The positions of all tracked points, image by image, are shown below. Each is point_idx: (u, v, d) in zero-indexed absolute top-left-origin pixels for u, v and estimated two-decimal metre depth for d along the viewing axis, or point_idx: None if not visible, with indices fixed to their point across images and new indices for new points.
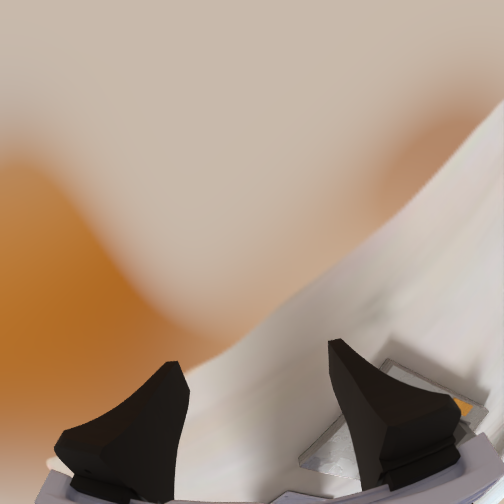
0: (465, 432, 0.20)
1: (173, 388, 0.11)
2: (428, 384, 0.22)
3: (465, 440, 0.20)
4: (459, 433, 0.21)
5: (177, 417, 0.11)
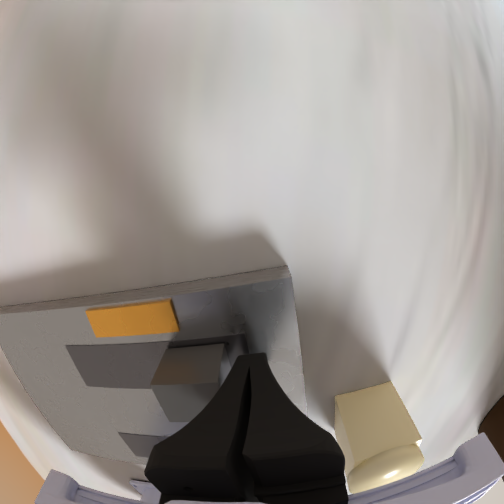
0: (153, 381, 0.11)
1: None
2: (25, 314, 0.13)
3: (179, 400, 0.11)
4: None
5: None
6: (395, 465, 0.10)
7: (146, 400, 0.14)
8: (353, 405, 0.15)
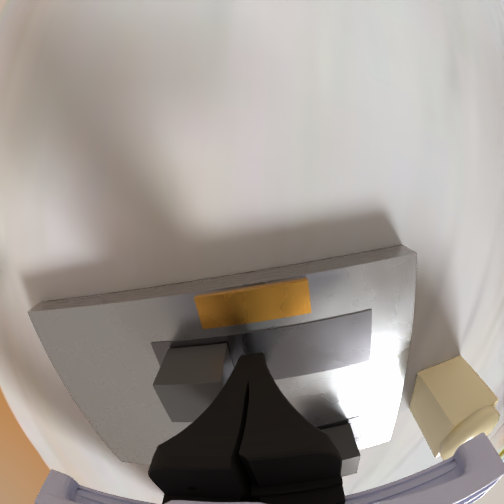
0: (156, 381, 0.11)
1: None
2: (93, 308, 0.13)
3: (182, 400, 0.11)
4: None
5: None
6: (482, 424, 0.10)
7: None
8: (436, 378, 0.14)
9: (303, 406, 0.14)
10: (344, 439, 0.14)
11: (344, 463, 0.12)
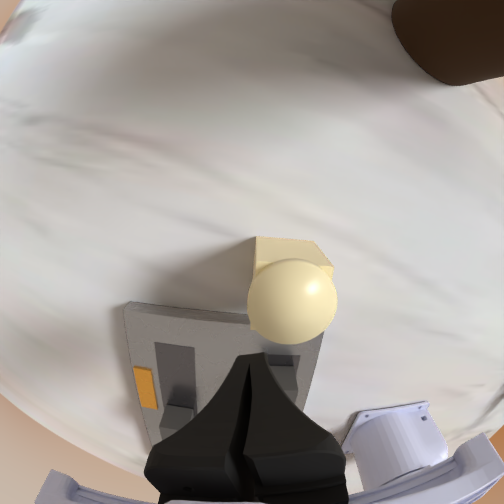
0: None
1: None
2: (150, 437, 0.24)
3: None
4: None
5: None
6: (265, 301, 0.14)
7: None
8: None
9: None
10: None
11: None
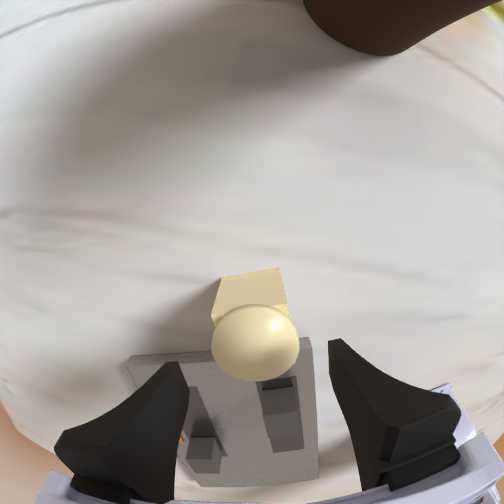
0: None
1: (173, 388, 0.11)
2: (187, 466, 0.25)
3: (201, 469, 0.21)
4: None
5: (177, 418, 0.11)
6: (228, 349, 0.14)
7: (228, 434, 0.23)
8: None
9: (237, 414, 0.22)
10: None
11: (271, 422, 0.18)
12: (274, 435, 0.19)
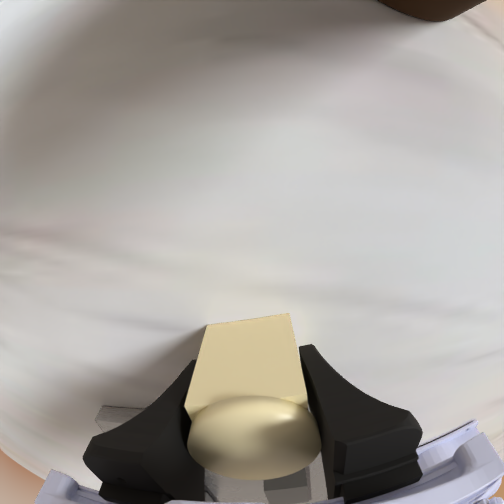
0: None
1: None
2: None
3: None
4: None
5: None
6: (213, 452, 0.08)
7: (222, 490, 0.16)
8: None
9: None
10: None
11: (274, 495, 0.12)
12: None
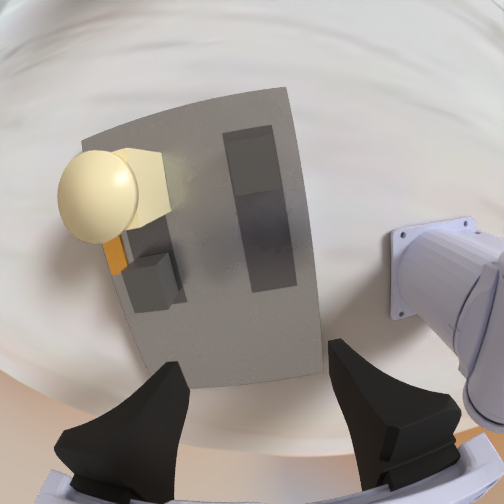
0: None
1: (173, 388, 0.11)
2: (135, 337, 0.21)
3: (142, 297, 0.17)
4: None
5: (177, 417, 0.11)
6: (69, 199, 0.12)
7: (186, 245, 0.19)
8: None
9: (199, 197, 0.18)
10: None
11: (237, 157, 0.15)
12: (244, 189, 0.15)
